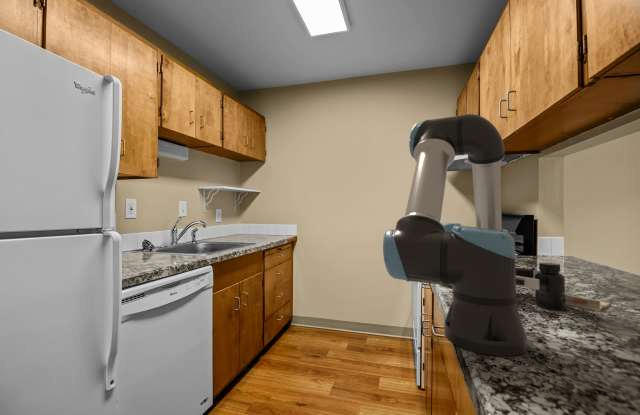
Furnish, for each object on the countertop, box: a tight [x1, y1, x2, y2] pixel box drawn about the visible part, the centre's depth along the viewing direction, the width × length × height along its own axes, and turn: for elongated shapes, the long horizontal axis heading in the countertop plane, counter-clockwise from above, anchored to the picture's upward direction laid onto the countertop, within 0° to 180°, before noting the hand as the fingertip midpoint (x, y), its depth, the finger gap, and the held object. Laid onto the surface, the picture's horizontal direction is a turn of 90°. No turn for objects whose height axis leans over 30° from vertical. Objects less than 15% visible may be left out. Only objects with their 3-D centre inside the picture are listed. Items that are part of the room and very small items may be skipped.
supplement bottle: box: [534, 262, 566, 311], centre depth 86 cm, size 7×7×12 cm
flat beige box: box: [565, 293, 612, 312], centre depth 89 cm, size 10×10×3 cm
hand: (549, 281), depth 87 cm, fingers open, 13 cm apart
